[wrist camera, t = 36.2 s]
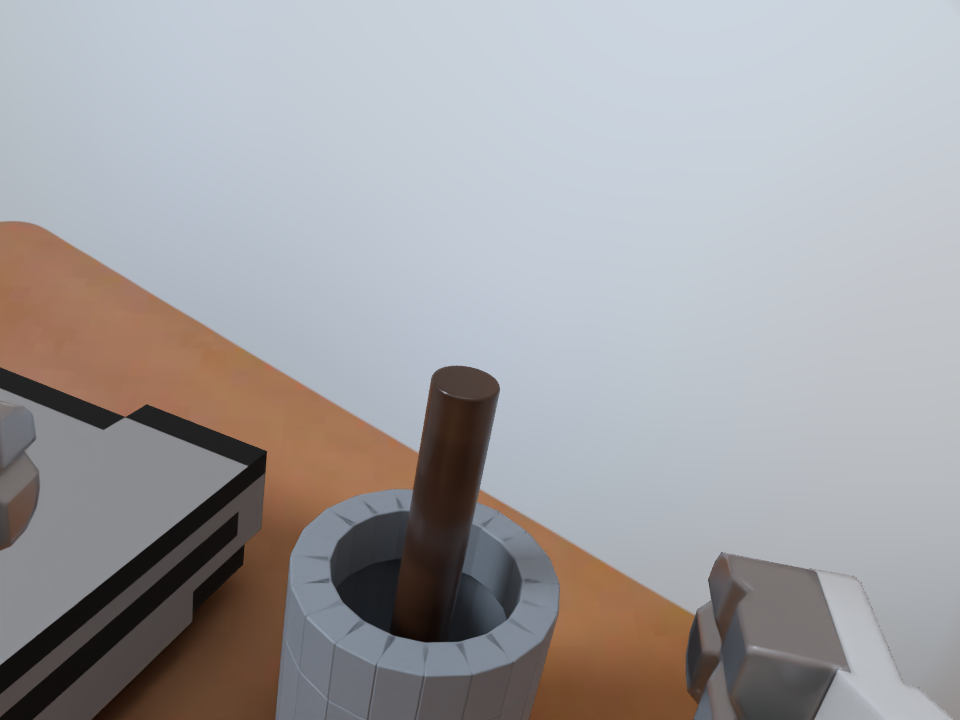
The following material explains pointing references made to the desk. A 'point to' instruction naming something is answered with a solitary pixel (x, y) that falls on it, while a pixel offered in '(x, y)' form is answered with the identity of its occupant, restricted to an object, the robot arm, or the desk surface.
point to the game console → (114, 547)
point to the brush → (443, 501)
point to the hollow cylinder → (404, 662)
